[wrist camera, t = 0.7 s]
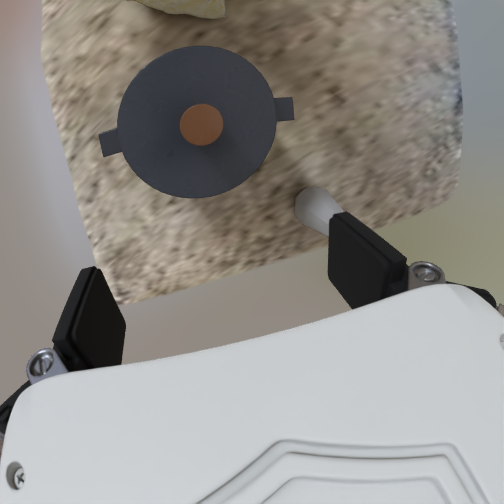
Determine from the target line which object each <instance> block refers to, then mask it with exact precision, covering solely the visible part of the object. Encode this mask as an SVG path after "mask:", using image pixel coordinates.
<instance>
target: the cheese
mask: <svg viewBox="0 0 504 504" xmlns="http://www.w3.org/2000/svg"><path fill="white" fill-rule="evenodd" d="M126 1H137V2H138V3H142V4H144V5H145V6H148V7H152V8H155V9H157V10H162V11H164V12H166V13H167V14H175V15H176V14H189V15H192V16H195V17H198V18H207V19H219V18H222V17H224V16H225V10H226V7H225V5H224V0H126Z"/></svg>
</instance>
